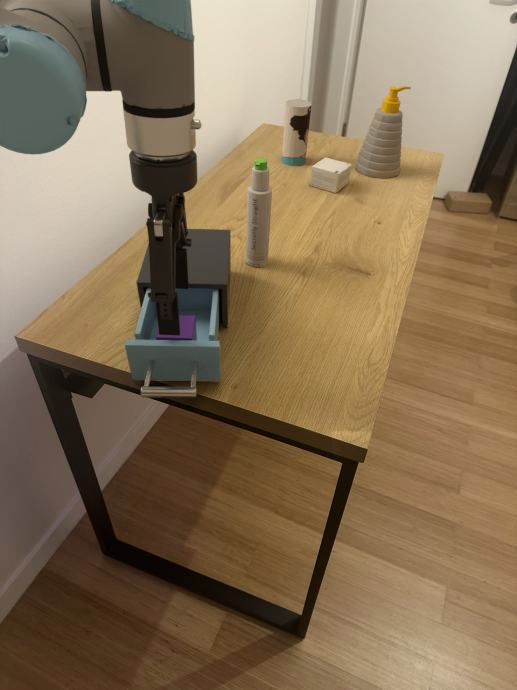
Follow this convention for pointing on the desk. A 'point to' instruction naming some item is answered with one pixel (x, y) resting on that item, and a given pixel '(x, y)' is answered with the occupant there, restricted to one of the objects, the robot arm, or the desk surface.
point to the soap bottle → (383, 140)
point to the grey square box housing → (202, 266)
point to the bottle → (258, 215)
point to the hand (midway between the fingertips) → (174, 308)
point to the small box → (330, 175)
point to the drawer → (177, 346)
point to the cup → (296, 131)
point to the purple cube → (183, 330)
